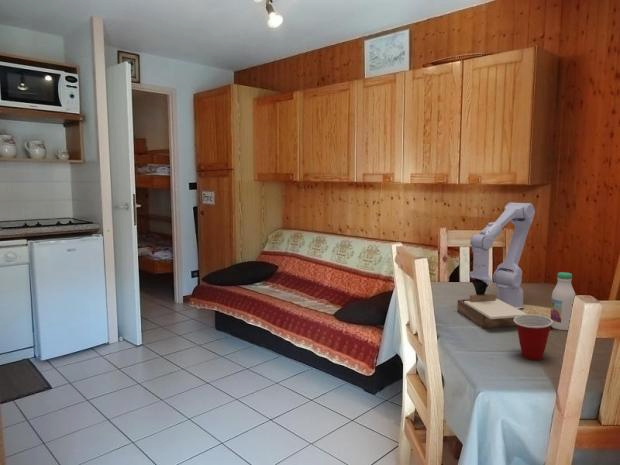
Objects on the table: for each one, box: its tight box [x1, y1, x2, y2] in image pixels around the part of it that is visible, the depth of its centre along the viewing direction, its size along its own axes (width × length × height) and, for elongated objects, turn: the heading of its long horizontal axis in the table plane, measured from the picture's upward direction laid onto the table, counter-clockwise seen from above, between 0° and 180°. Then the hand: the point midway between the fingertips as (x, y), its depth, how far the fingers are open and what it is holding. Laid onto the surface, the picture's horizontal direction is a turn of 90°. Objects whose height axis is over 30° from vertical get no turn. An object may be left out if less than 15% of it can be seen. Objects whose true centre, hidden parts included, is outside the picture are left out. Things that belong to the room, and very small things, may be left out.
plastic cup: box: [514, 313, 553, 361], centre depth 137 cm, size 11×11×12 cm
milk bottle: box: [550, 271, 576, 331], centre depth 160 cm, size 8×8×20 cm
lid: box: [464, 293, 529, 319], centre depth 168 cm, size 14×20×3 cm
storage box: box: [457, 298, 517, 329], centre depth 174 cm, size 14×20×5 cm
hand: (480, 297), depth 178 cm, fingers closed
